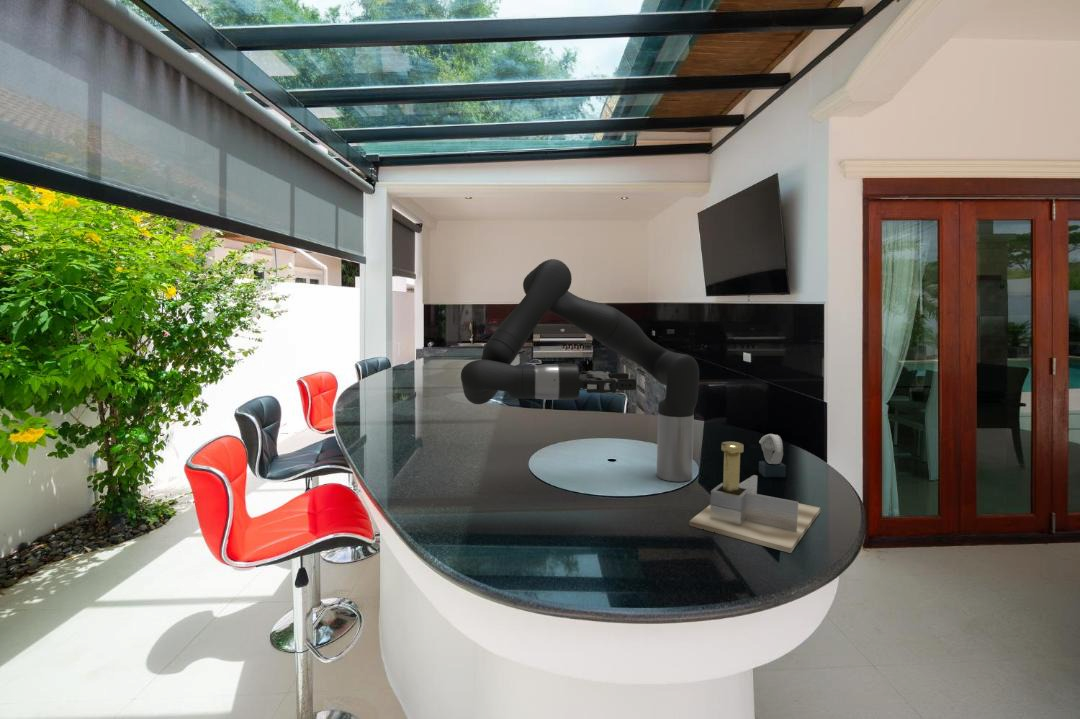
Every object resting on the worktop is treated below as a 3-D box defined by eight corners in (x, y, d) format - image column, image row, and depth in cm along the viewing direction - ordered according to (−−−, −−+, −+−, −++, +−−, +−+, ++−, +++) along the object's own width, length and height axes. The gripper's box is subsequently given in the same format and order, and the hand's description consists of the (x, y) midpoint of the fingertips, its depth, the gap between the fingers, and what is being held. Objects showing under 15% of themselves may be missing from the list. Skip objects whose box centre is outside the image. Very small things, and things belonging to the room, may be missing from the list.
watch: (775, 469, 150) (777, 431, 149) (788, 479, 142) (790, 438, 141) (755, 469, 151) (757, 431, 149) (767, 479, 143) (768, 438, 141)
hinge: (735, 496, 128) (736, 471, 127) (810, 512, 118) (812, 486, 117) (709, 517, 115) (710, 490, 114) (791, 538, 105) (792, 509, 104)
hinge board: (730, 492, 133) (730, 488, 133) (820, 512, 121) (820, 507, 120) (689, 525, 114) (689, 521, 113) (790, 553, 101) (790, 548, 101)
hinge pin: (723, 510, 119) (725, 440, 116) (743, 515, 116) (746, 443, 114) (716, 517, 115) (718, 445, 113) (736, 523, 112) (739, 449, 110)
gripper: (558, 368, 107) (639, 368, 108) (554, 360, 121) (625, 360, 122) (558, 405, 108) (638, 405, 109) (554, 393, 122) (625, 392, 123)
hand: (631, 381), depth 115 cm, fingers open, 8 cm apart
